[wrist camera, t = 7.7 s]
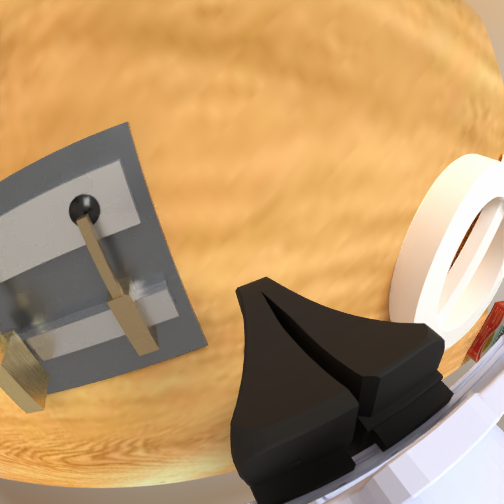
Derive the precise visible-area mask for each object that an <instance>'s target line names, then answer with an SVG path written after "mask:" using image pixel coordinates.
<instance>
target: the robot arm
mask: <svg viewBox="0 0 504 504" xmlns="http://www.w3.org/2000/svg"><path fill="white" fill-rule="evenodd" d="M236 295H237V298H238V302H239V305H240V308H241V312H242V315H243V319H244V334H245V351H244V364H243V373H242V380H241V385H240V390H239V395H238V399H237V403H236V407H235V410H234V413H233V417H232V420H231V424H230V425H231V432H230V440H231V454H232V458H233V462H234V464H235V467H236V469H237V471H238V474H239V476H240V477H241V478H242V479H243V480H244V481H245V482H246V483H247V484H248V485H249V486H250V488H251V490H252V492H253V495H254V497H255V499H256V501H253V502H250V503H247V504H308V503H310V502H312V503H314V504H504V432H503V431H502V430H501V429H500V428H499V427H498V426H497V425H496V423H497V422H498V421H499V420H500V418H501V416H502V415H503V414H504V334H503V335H502V336H501V337H500V338H499V340H498V341H497V342H496V343H495V344H494V345H493V346H492V347H491V348H490V349H489V351H488V352H487V353H486V354H485V355H484V356H483V357H482V358H481V359H480V360H479V361H478V362H477V363H476V364H475V365H474V366H473V367H472V368H471V369H470V370H469V371H468V372H467V373H466V374H465V375H463V376H462V377H461V378H460V379H459V380H458V381H457V382H456V383H455V384H454V385H452V386H451V387H450V388H448V387H447V386H446V385H445V384H444V383H443V382H442V381H441V380H442V378H443V376H442V374H441V373H440V372H439V371H437V368H438V366H439V364H440V361H441V358H442V356H443V353H444V349H445V340H444V339H443V338H442V337H441V336H440V335H439V334H437V333H436V332H435V331H434V330H433V329H431V328H430V327H429V326H428V325H426V324H425V323H398V322H389V321H380V320H374V319H368V318H364V317H359V316H354V315H351V314H347V313H344V312H340V311H337V310H334V309H331V308H328V307H325V306H323V305H320V304H318V303H316V302H313V301H311V300H309V299H307V298H305V297H303V296H301V295H299V294H297V293H295V292H293V291H291V290H289V289H287V288H285V287H284V286H282V285H280V284H278V283H277V282H275V281H273V280H271V279H270V278H268V277H264V278H262V279H259V280H256V281H254V282H251V283H249V284H246V285H243V286H241V287H238V288H237V289H236ZM439 421H440V422H439ZM438 422H439V423H438ZM437 423H438V424H437ZM436 424H437V425H436ZM435 425H436V426H435ZM433 426H434V427H433ZM432 427H433V428H432ZM431 428H432V429H431ZM430 429H431V430H430ZM428 430H430V431H428ZM427 431H428V432H427ZM426 432H427V433H426ZM425 433H426V434H425ZM423 434H424V435H423Z"/></svg>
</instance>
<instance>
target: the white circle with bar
mask: <svg viewBox="0 0 504 504" xmlns="http://www.w3.org/2000/svg"><path fill="white" fill-rule="evenodd" d="M482 208H483V210H482V212H481V214H480V216H479V218H478V220H477V222H476V224H475V226H474V228H473V230H472V232H471V234H470V236H469V237H468V239H467V241H466V243H465V245H464V247H463V249H462V250H461V252H460V254H459V256H458V257H457V259H456V261H455V263H454V264H453V266H452V268H451V269H450V271H449V268H450V266H451V263H452V261H453V259H454V256H455V254H456V252H457V250H458V248H459V246H460V244H461V242H462V240H463V238H464V236H465V234H466V232H467V230H468V229H469V227H470V225H471V224H472V222H473V220H474V219H475V217H476V216H477V215H478V213H479V212H480V211H481V209H482ZM448 271H449V273H448ZM447 273H448V274H447ZM503 277H504V155H503V158H502V160H501V162H500V161H497V160H494V159H491V158H487V157H484V156H481V155H478V154H468V155H464V156H462V157H460V158H458V159H457V160H455V161H454V162H452V163H451V164H450V165H449V166H448V167H447V168H446V169H445V170H444V171H443V172H442V173H441V174H440V176H439V177H438V178H437V179H436V181H435V182H434V183H433V185H432V186H431V188H430V189H429V191H428V192H427V194H426V196H425V197H424V199H423V201H422V202H421V204H420V206H419V208H418V210H417V212H416V214H415V216H414V218H413V220H412V222H411V224H410V226H409V229H408V231H407V234H406V236H405V239H404V241H403V244H402V247H401V249H400V252H399V255H398V258H397V262H396V265H395V269H394V273H393V277H392V282H391V288H390V295H389V315H390V320H391V322H398V323H425V324H426V325H428V326H429V327H430V328H431V329H433V330H434V331H435V332H436V333H437V334H439V335H440V336H441V337H442V338H443V339H444V340H445V349H444V350H446V349H448V348H449V347H451V346H452V345H453V344H455V343H456V342H457V341H458V340H459V339H461V338H462V337H463V336H464V335H465V334H466V333H467V332H468V331H469V330H470V329H471V327H472V326H473V325H474V324H475V323H476V322H477V320H478V319H479V318H480V316H481V315H482V314H483V312H484V311H485V309H486V308H487V306H488V305H489V303H490V302H491V300H492V298H493V297H494V295H495V293H496V291H497V290H498V288H499V286H500V284H501V282H502V279H503Z"/></svg>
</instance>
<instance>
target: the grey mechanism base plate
mask: <svg viewBox="0 0 504 504" xmlns="http://www.w3.org/2000/svg"><path fill="white" fill-rule="evenodd" d="M12 330H15V332H16V333H17V334H18V336H19V337H20V338H21V340H22V341H23V342H24V344H25V345H26V346H27V348H28V349H29V350H30V352H31V353H32V354H33V355H34V357H35V358H36V359H37V360H38V362H39V363H40V364H41V365H42V367H43V368H44V369H45V370H46V371H47V372H48V374H49V375H50V376H49V382H48V388H47V394H51V393H55V392H59V391H63V390H67V389H71V388H75V387H79V386H82V385H86V384H90V383H93V382H97V381H100V380H104V379H107V378H111V377H114V376H118V375H121V374H124V373H127V372H131V371H134V370H137V369H140V368H143V367H146V366H150V365H153V364H156V363H159V362H162V361H165V360H168V359H171V358H174V357H176V356H179V355H182V354H185V353H188V352H191V351H194V350H196V349H199V348H202V347H205V346H207V345H208V343H207V340H206V338H205V336H204V333H203V331H202V329H201V327H200V324H199V322H198V320H197V317H196V315H195V312H194V310H193V308H192V305H191V303H190V300H189V298H188V296H187V293H186V291H185V288H184V286H183V283H182V281H181V278H180V276H179V273H178V270H177V268H176V265H175V263H174V260H173V257H172V255H171V252H170V249H169V247H168V244H167V241H166V239H165V236H164V233H163V230H162V227H161V225H160V222H159V219H158V216H157V213H156V210H155V207H154V204H153V201H152V198H151V195H150V192H149V189H148V186H147V183H146V180H145V177H144V174H143V171H142V167H141V164H140V161H139V157H138V154H137V151H136V147H135V144H134V141H133V137H132V134H131V130H130V126H129V123H128V122H126V123H123V124H120V125H117V126H115V127H112V128H109V129H107V130H104V131H102V132H99V133H97V134H94V135H92V136H90V137H87V138H85V139H82V140H80V141H78V142H76V143H73V144H71V145H69V146H67V147H65V148H62V149H60V150H58V151H56V152H54V153H52V154H50V155H48V156H46V157H44V158H42V159H40V160H38V161H36V162H34V163H32V164H31V165H29V166H27V167H25V168H23V169H21V170H20V171H18V172H16V173H14V174H13V175H11V176H9V177H7V178H6V179H4V180H2V181H1V182H0V332H1V333H2V334H4V333H7V332H9V331H12ZM47 394H46V395H47Z"/></svg>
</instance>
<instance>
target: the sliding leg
mask: <svg viewBox="0 0 504 504" xmlns="http://www.w3.org/2000/svg"><path fill="white" fill-rule="evenodd" d="M49 376H50V375H49V374H48V372H47V371H46V370H45V369H44V368H43V367H42V365H41V364H40V363H39V362H38V360H37V359H36V358H35V357H34V355H33V354H32V353H31V352H30V350H29V349H28V348H27V346H26V345H25V344H24V342H23V341H22V340H21V338H20V337H19V336H18V334H17V333H16V332H15V330H12V331H9V332H7V333H4V334H2V333H1V332H0V387H1V388H2V389H3V390H4V392H5V393H6V394H7V395H8V396H9V397H10V398H11V399H12V400H13V401H14V402H15V403H16V404H17V405H18V406H19V407H20V408H21V409H23V410H24V411H25V412H26V413H32V412H37V411H42V410H44V407H45V400H46V394H47V388H48V382H49Z"/></svg>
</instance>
